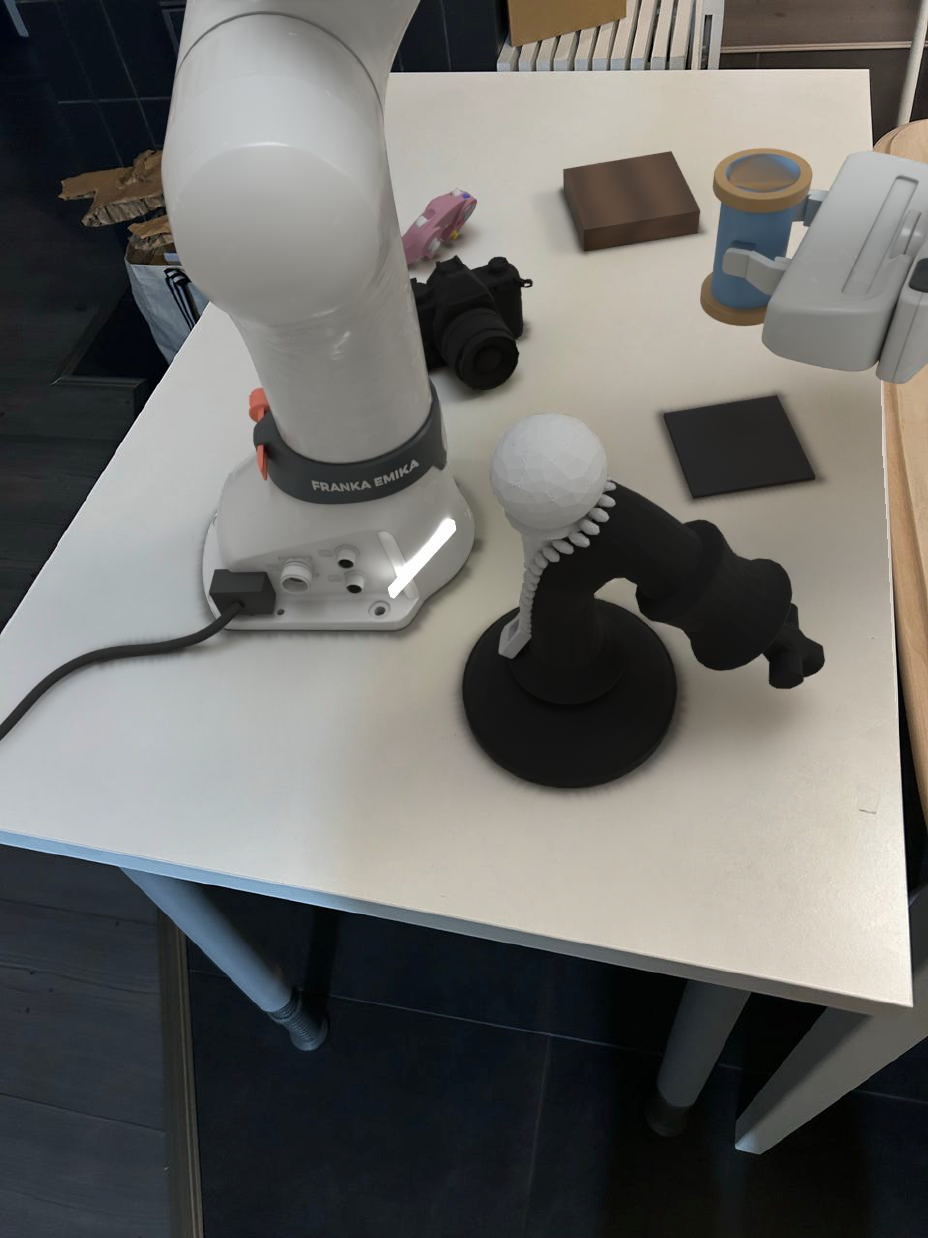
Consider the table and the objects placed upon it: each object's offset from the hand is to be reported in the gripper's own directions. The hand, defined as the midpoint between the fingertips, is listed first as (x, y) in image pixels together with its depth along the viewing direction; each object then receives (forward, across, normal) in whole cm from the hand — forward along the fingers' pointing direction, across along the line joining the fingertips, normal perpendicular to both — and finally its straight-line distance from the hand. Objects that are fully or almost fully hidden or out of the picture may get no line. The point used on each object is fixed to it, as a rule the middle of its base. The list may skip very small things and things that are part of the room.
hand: (740, 231), depth 66 cm
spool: (-1, 0, +6) cm, 6 cm away
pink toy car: (+36, -14, +18) cm, 42 cm away
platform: (+19, -27, +17) cm, 37 cm away
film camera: (+24, +2, +18) cm, 29 cm away
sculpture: (-4, +29, +18) cm, 34 cm away
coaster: (-3, +3, +18) cm, 18 cm away
